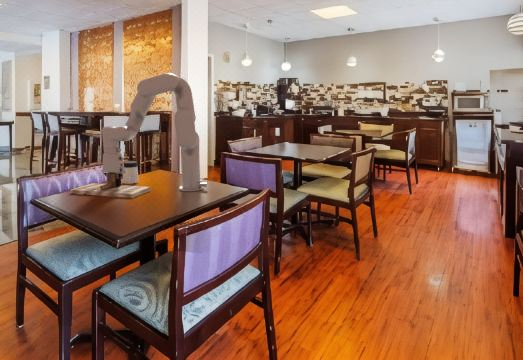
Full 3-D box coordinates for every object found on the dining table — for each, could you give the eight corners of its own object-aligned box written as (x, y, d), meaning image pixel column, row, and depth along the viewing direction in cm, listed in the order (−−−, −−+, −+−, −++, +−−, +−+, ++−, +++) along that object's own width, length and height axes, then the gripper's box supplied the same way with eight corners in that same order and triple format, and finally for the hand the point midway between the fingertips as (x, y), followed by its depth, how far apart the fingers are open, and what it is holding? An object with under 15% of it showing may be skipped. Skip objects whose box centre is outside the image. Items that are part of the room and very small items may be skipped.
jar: (126, 184, 213) (125, 163, 210) (120, 182, 218) (118, 162, 216) (141, 182, 219) (140, 162, 216) (135, 180, 224) (133, 160, 222)
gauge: (121, 185, 202) (120, 172, 200) (105, 190, 189) (104, 176, 188) (115, 184, 203) (113, 171, 201) (98, 190, 190) (97, 176, 189)
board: (150, 190, 198) (150, 186, 198) (132, 198, 183) (132, 193, 183) (92, 186, 208) (92, 183, 208) (70, 193, 193) (70, 189, 193)
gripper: (130, 150, 197) (132, 184, 201) (102, 149, 201) (105, 183, 205) (121, 152, 190) (124, 187, 193) (92, 151, 194) (96, 186, 198)
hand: (114, 185), depth 199 cm, fingers closed on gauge, 4 cm apart
